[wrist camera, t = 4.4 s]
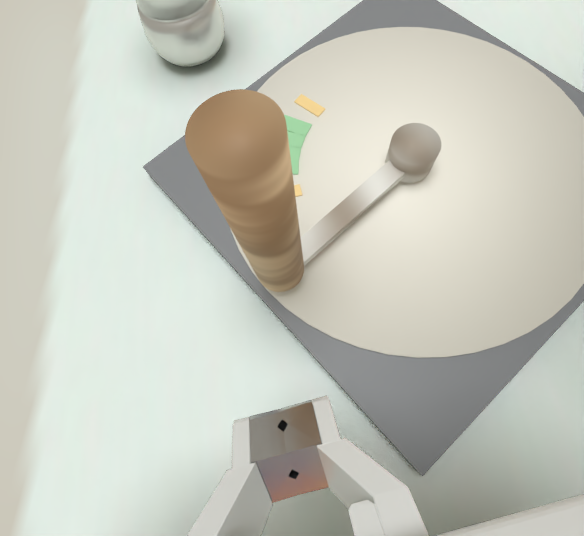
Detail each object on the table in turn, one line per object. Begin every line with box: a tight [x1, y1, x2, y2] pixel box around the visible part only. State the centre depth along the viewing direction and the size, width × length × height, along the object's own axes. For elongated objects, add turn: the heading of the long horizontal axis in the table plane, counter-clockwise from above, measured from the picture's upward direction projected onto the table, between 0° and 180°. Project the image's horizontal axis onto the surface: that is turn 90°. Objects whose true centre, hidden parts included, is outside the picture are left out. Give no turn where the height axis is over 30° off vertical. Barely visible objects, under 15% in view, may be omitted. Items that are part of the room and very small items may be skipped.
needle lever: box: [185, 89, 441, 292], centre depth 18 cm, size 15×3×14 cm, turn 132°
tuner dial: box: [143, 0, 584, 476], centre depth 27 cm, size 28×28×2 cm
